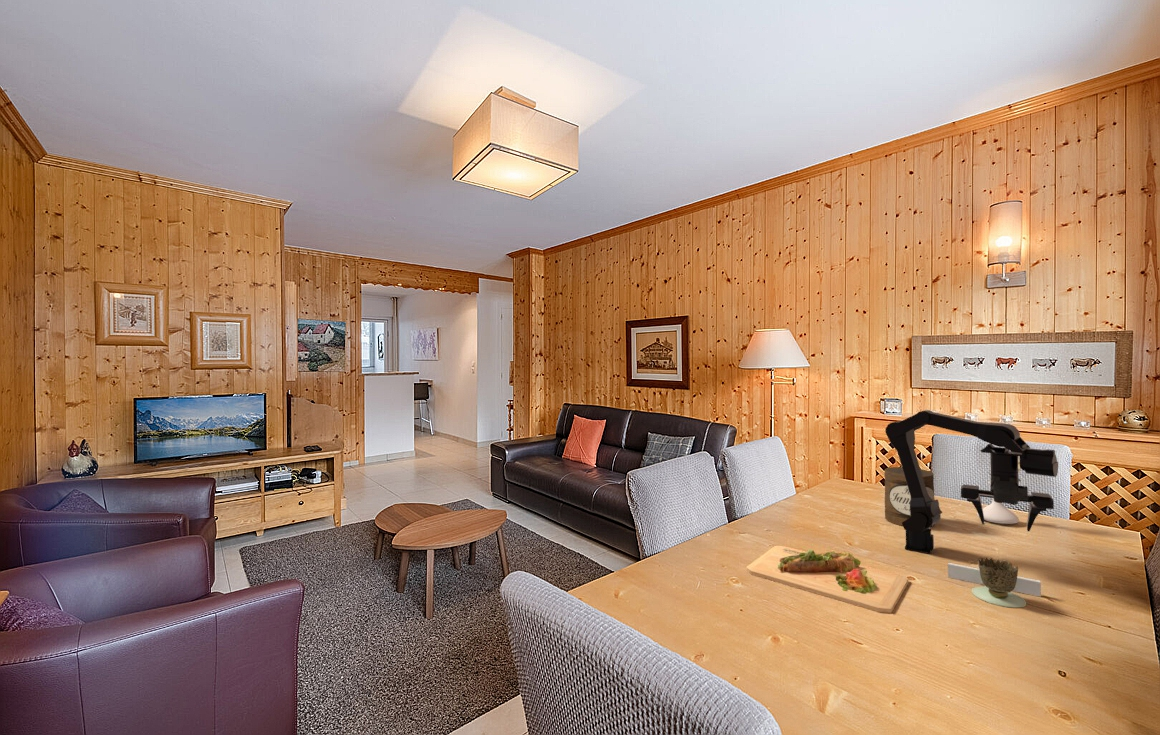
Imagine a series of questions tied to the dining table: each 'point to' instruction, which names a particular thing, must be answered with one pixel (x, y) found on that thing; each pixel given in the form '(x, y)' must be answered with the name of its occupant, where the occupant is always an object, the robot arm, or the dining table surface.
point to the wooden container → (901, 494)
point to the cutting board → (831, 577)
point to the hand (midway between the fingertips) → (1005, 527)
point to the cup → (998, 576)
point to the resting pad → (1010, 601)
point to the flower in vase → (999, 511)
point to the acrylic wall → (974, 576)
